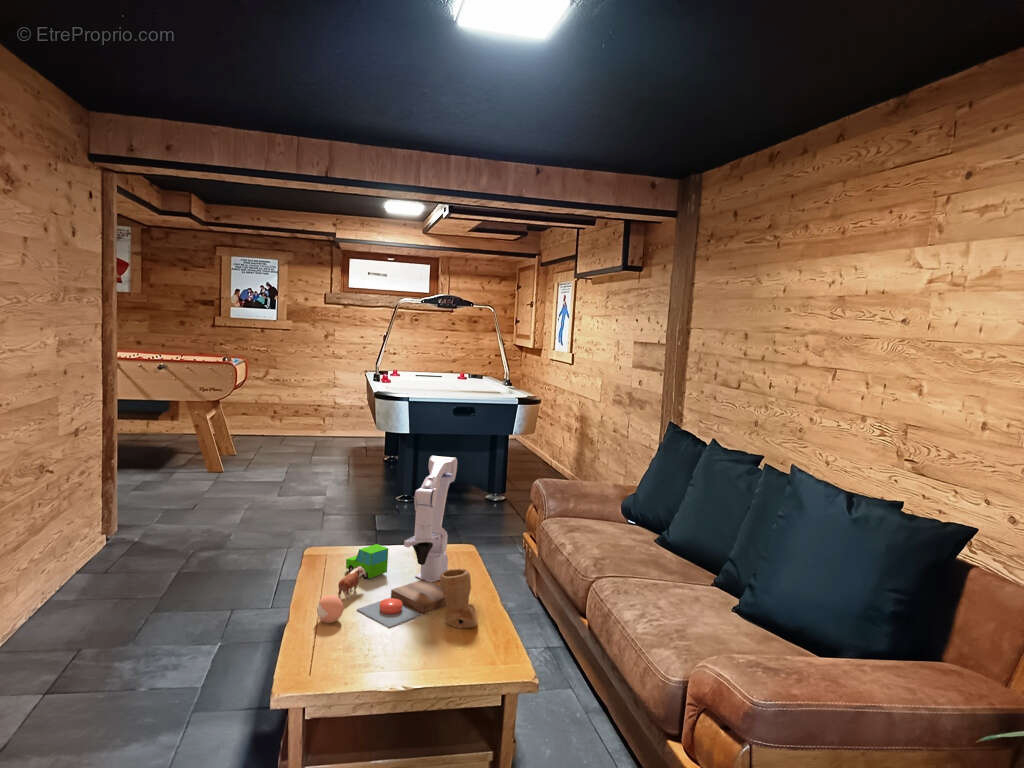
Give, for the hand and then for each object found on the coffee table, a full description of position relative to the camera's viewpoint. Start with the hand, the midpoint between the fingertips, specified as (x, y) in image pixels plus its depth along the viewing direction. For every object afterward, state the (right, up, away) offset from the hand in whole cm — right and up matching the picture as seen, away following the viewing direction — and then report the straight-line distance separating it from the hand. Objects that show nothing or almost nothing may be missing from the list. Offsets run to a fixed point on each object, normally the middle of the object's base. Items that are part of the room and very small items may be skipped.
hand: (421, 563), depth 217 cm
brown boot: (+13, -13, -16) cm, 25 cm away
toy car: (-22, -8, +16) cm, 28 cm away
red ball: (-8, -11, -14) cm, 19 cm away
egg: (-24, -11, -23) cm, 35 cm away
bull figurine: (-23, -9, -3) cm, 25 cm away
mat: (-8, -11, -15) cm, 20 cm away
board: (+1, -11, -4) cm, 12 cm away
